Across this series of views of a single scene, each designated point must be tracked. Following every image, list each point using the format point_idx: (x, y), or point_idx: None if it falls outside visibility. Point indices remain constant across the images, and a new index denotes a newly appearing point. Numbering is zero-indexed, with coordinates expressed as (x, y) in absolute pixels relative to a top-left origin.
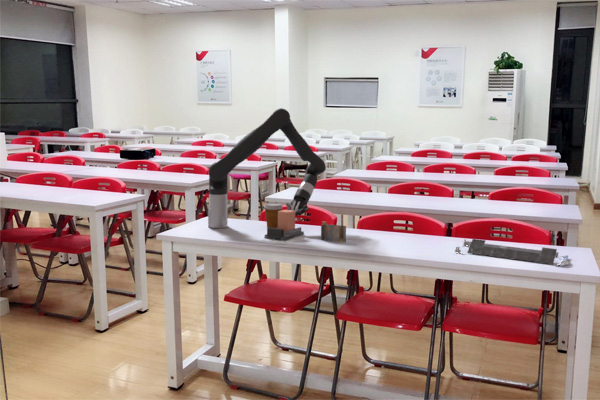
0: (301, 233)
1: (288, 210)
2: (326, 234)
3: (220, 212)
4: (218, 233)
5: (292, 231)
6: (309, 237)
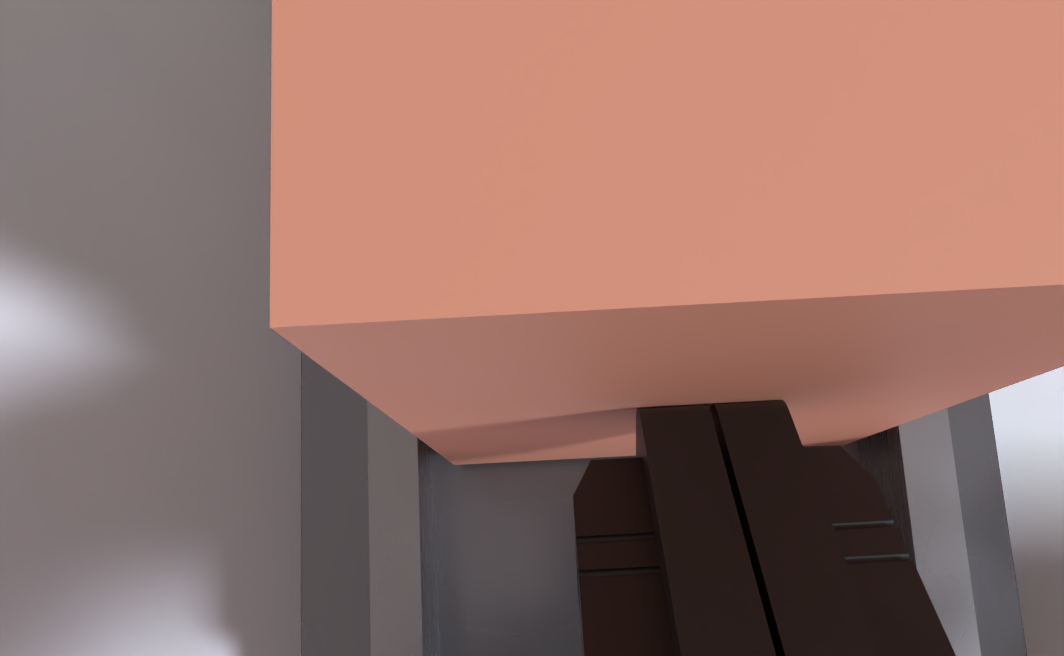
0: (312, 602)
1: (838, 161)
2: None
3: None
4: None
5: None
6: (3, 511)
